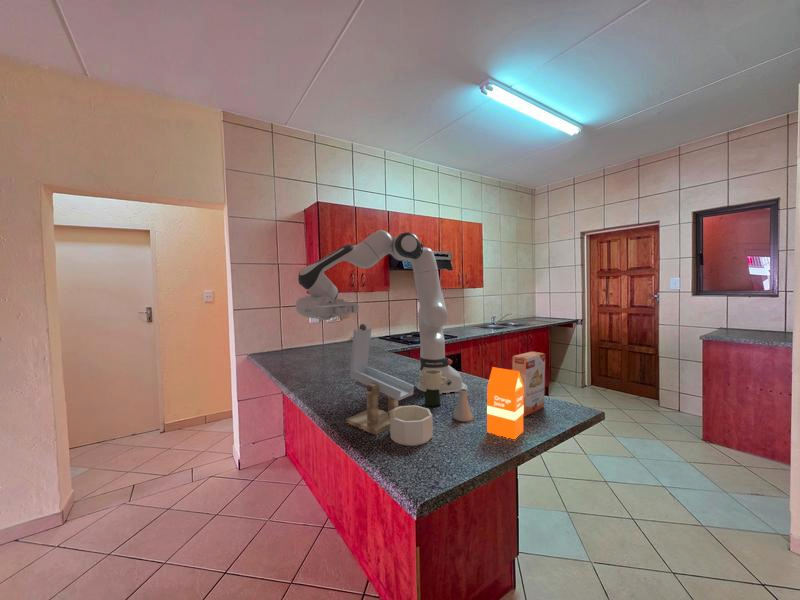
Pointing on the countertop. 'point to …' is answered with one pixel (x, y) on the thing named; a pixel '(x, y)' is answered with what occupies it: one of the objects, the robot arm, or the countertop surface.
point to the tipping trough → (371, 375)
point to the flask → (462, 407)
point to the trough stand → (373, 413)
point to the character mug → (432, 385)
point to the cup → (411, 425)
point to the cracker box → (531, 379)
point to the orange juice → (505, 403)
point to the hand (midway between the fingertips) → (348, 310)
